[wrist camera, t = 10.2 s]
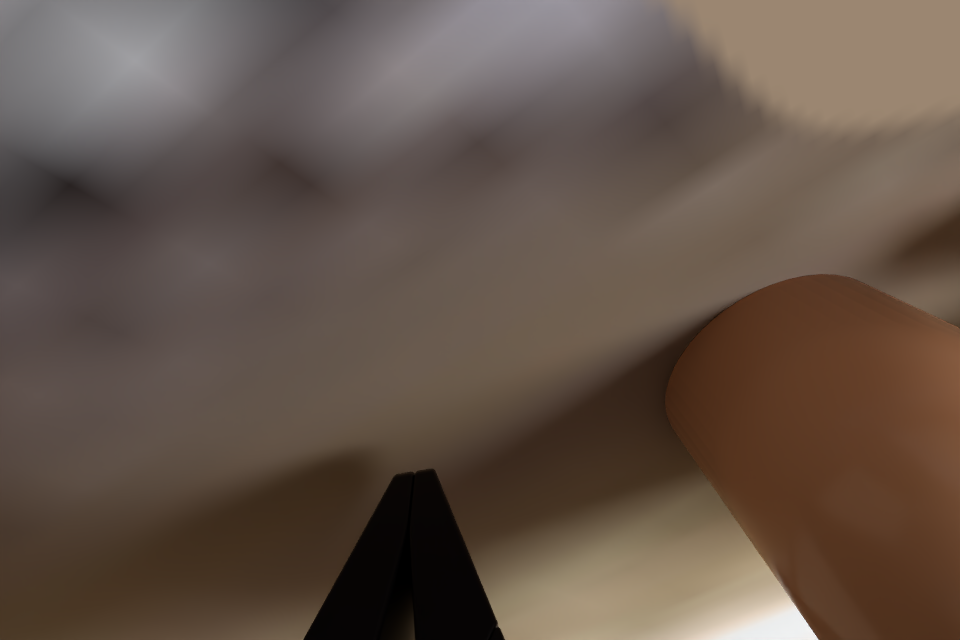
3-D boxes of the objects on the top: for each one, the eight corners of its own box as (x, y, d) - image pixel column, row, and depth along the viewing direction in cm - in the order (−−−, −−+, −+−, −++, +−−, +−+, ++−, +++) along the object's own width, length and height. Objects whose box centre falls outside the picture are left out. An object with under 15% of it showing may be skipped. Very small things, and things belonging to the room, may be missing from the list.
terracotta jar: (845, 438, 12) (1304, 835, 6) (648, 470, 12) (897, 916, 5) (937, 249, 9) (2147, 649, 3) (674, 289, 9) (1291, 815, 2)
